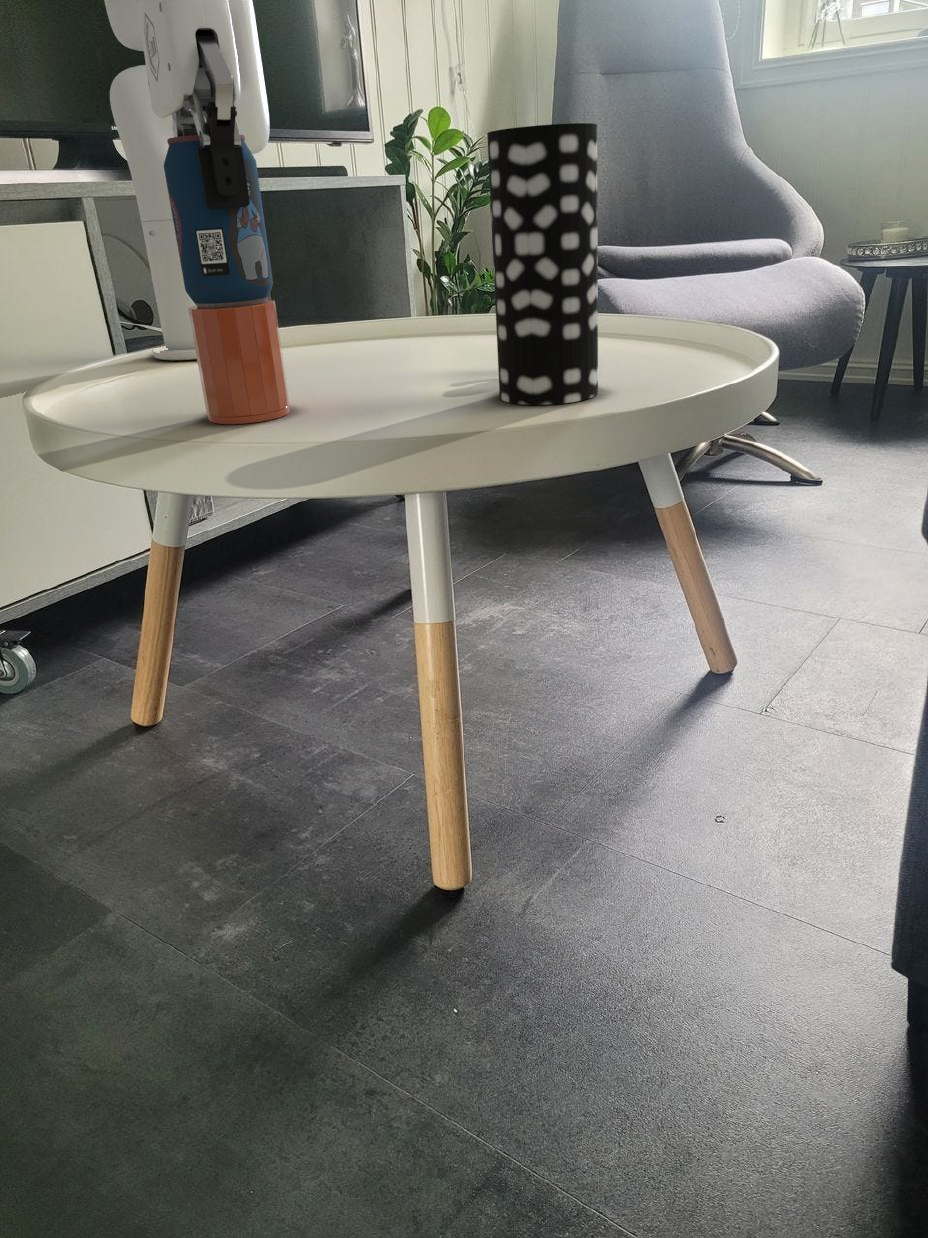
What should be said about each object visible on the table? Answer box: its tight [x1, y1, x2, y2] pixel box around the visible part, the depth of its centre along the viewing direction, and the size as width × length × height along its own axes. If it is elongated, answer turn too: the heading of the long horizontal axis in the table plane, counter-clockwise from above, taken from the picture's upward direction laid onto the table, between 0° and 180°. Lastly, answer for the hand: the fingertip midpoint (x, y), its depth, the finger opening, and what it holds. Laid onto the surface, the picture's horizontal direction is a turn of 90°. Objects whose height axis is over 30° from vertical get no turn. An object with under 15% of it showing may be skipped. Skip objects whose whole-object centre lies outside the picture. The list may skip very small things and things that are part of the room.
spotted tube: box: [486, 122, 599, 406], centre depth 74 cm, size 8×8×20 cm
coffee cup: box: [188, 299, 290, 425], centre depth 76 cm, size 7×7×9 cm
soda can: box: [164, 135, 274, 308], centre depth 72 cm, size 7×7×12 cm
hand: (216, 207), depth 71 cm, fingers closed on soda can, 7 cm apart
